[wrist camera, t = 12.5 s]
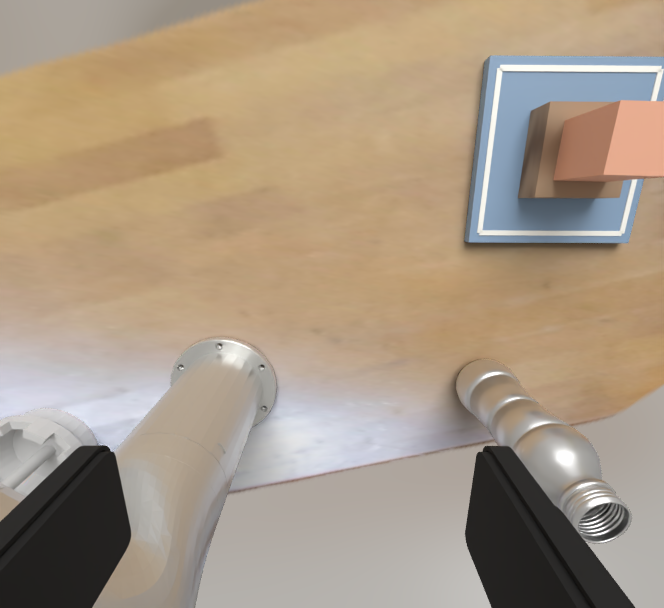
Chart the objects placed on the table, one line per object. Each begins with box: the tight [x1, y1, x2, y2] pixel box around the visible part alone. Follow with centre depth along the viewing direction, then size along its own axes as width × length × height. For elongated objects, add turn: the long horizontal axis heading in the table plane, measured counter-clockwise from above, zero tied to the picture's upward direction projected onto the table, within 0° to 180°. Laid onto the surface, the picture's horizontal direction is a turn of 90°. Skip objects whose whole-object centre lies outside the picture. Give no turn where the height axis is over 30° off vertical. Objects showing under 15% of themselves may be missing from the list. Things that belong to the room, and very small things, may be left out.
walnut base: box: [518, 101, 624, 199], centre depth 32 cm, size 8×8×3 cm
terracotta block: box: [553, 100, 664, 182], centre depth 28 cm, size 5×5×6 cm
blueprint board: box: [464, 56, 664, 243], centre depth 34 cm, size 17×17×1 cm
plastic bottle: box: [456, 359, 632, 544], centre depth 32 cm, size 6×7×20 cm
